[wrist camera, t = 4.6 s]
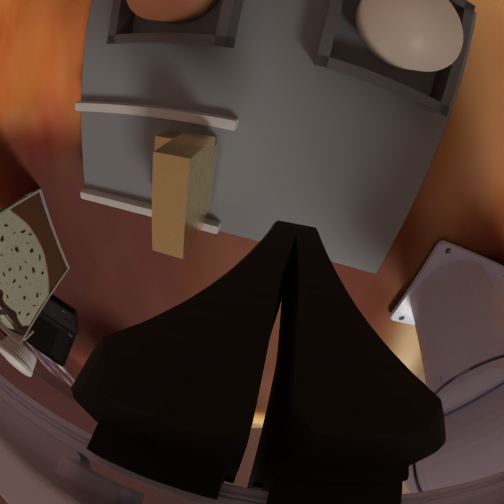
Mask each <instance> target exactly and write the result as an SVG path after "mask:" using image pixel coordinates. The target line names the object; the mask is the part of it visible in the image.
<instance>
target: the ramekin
mask: <svg viewBox="0 0 504 504" xmlns="http://www.w3.org/2000/svg"><path fill="white" fill-rule="evenodd" d="M0 352H1V354H2V355H3V356H4V357H5V358H6V359H7V360H8V361H9V362H10V363H11V364H12V365H13V366H14V367H15V368H17V369H18V370H19V371H20V372H22V373H24V374H25V375H27V376H29V377H31V376H32V371H33V369H34V367H35V364H36V361H37V359H36V356H35V354H34V353H33V352H32V350H31V349H30V348H29V347H28V346H27V345H26V344H25V343H24V342H22V343H21V344H20V343H19V342H17V341H16V340H14V339H13V338H11V337H10V336H9V335H8V336H6V337H5V338H4V340H3V341H2V342H1V343H0Z"/></svg>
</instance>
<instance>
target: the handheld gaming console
mask: <svg viewBox="0 0 504 504" xmlns="http://www.w3.org/2000/svg"><path fill="white" fill-rule="evenodd" d="M30 329H31V330H33V331H34V333H33V334H32V335H31V336H30V337H29V338H28V339H27V340H26V341H27V342H28V343H29V344H30V345H32V346H33V347H34V348H36V349H37V350H39V351H40V352H41V353H43V354H44V355H46V356H47V357H48V358H50V359H51V360H53V361H54V362H56V363H57V364H59V365H60V366H64V365H65V364H66V361H67V358H68V355H69V353H70V350H71V347H72V345H73V342H74V340H75V336H76V335H77V333H78V324H77V312H76V310H74V309H73V308H71V307H70V306H68V305H67V304H65V303H64V302H62V301H61V300H59V299H58V298H56V297H55V296H53V295H51V296H50V298H49V299H48V301H47V303H46V304H45V306H44V307H43V309H42V310H41V312H40V314H39V315H38V317H37V318H36V320H35V322H34V323H33V325H32V327H31V328H30Z"/></svg>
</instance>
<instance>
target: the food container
mask: <svg viewBox="0 0 504 504" xmlns="http://www.w3.org/2000/svg"><path fill="white" fill-rule="evenodd" d="M69 269H70V267H69V265H68V263H67V260H66V258H65V255H64V253H63V250H62V248H61V245H60V243H59V240H58V237H57V235H56V232H55V229H54V227H53V224H52V221H51V218H50V215H49V212H48V209H47V206H46V203H45V200H44V196H43V193H42V190H41V189H35V190H33V191H31V192H29V193H28V194H26V195H24V196H23V197H21V198H19V199H18V200H16V201H14V202H13V203H11V204H9V205H8V206H6V207H5V208H3V209H1V210H0V328H1V329H2V330H3V331H4V332H5V333H6V334H8V335H9V336H10V337H11V338H13V339H14V340H16V341H17V342H19V343H20V344H21V343H22V342H23V340H25V341H26V340H27V339H28V338H29V337H30V336H31V335H32V334H33V333H34V331H33V330H31V329H30V328H31V327H32V325H33V323H34V322H35V320H36V318H37V317H38V315H39V314H40V312H41V310H42V309H43V307H44V306H45V304H46V303H47V301H48V299H49V298H50V296H51V295H52V293H53V292H54V290H55V289H56V287H57V286H58V284H59V283H60V282H61V280H62V279H63V277H64V276H65V274H66V273H67V272H68V270H69Z"/></svg>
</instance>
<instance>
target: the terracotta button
mask: <svg viewBox="0 0 504 504" xmlns="http://www.w3.org/2000/svg"><path fill="white" fill-rule="evenodd" d="M126 1H127V4H128V6H129V7H130V9H131V10H132V11H133V12H134V13H135V14H136V15H138V16H140V17H142V18H145V19H149V20H156V21H162V22H168V23H185V22H189V21H192V20H194V19H197V18H199V17H201V16H202V15H204V14H205V13H206V12H208V11H209V10H210V9H211V8H212V7H213V6H214V5H215V3H216V2H217V0H126Z"/></svg>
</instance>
